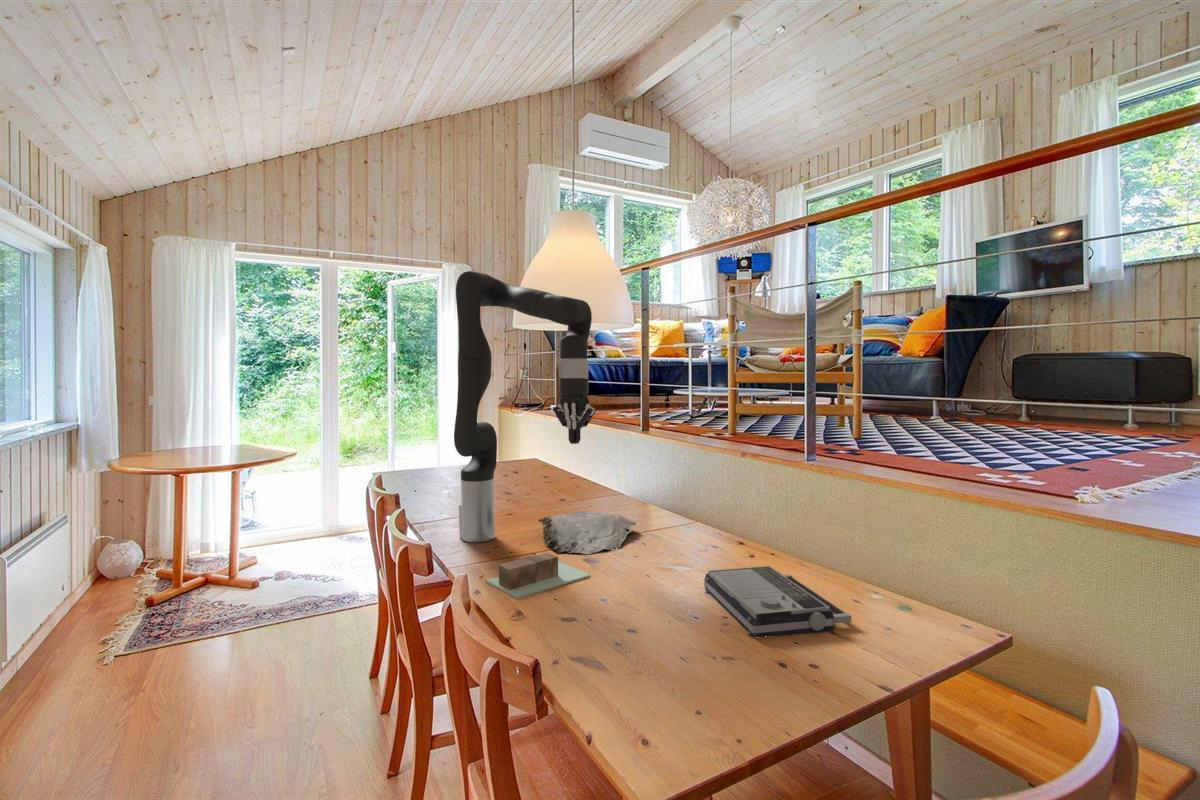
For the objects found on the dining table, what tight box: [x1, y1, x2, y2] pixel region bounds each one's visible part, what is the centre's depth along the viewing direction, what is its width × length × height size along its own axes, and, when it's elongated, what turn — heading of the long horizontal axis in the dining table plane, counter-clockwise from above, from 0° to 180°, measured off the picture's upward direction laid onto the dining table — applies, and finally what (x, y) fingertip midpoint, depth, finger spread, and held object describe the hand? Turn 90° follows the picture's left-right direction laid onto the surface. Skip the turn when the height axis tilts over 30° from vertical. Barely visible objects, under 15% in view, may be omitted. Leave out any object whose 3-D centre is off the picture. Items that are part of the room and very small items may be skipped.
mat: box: [485, 560, 591, 600], centre depth 135 cm, size 20×13×1 cm, turn 130°
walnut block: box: [498, 552, 559, 590], centre depth 133 cm, size 4×4×13 cm
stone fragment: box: [537, 511, 637, 555], centre depth 167 cm, size 25×29×6 cm
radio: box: [703, 565, 852, 639], centre depth 117 cm, size 24×5×20 cm
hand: (574, 443), depth 152 cm, fingers closed
